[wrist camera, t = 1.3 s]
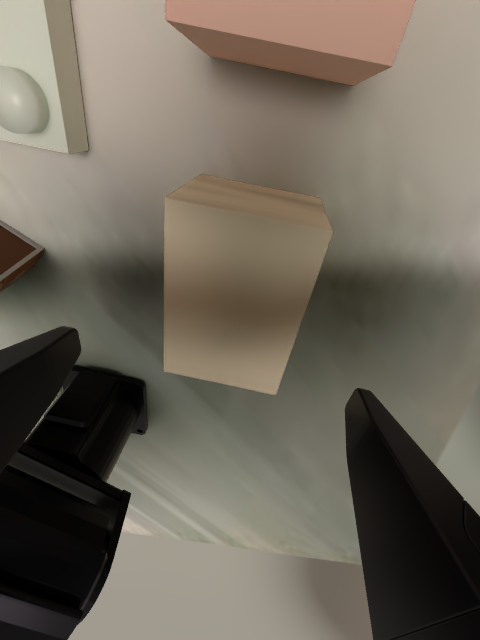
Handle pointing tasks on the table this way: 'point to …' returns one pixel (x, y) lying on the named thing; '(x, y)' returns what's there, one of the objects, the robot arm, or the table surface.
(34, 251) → the food container
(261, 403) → the table surface
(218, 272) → the birch brick
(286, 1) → the terracotta brick
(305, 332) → the table surface
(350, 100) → the table surface
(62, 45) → the build plate
